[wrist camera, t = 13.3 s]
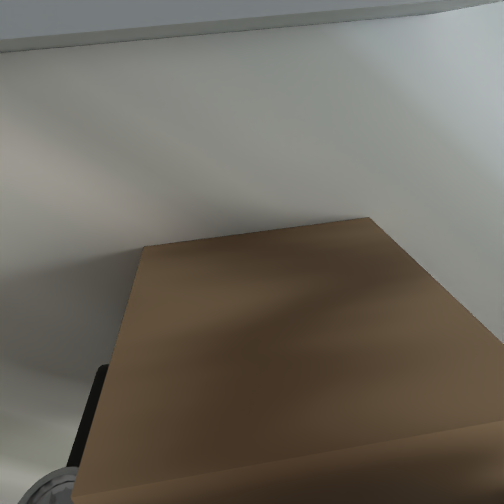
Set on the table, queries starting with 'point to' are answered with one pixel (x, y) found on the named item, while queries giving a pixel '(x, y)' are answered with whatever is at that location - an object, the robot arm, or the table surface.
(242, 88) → the table surface
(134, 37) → the tray
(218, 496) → the walnut block
